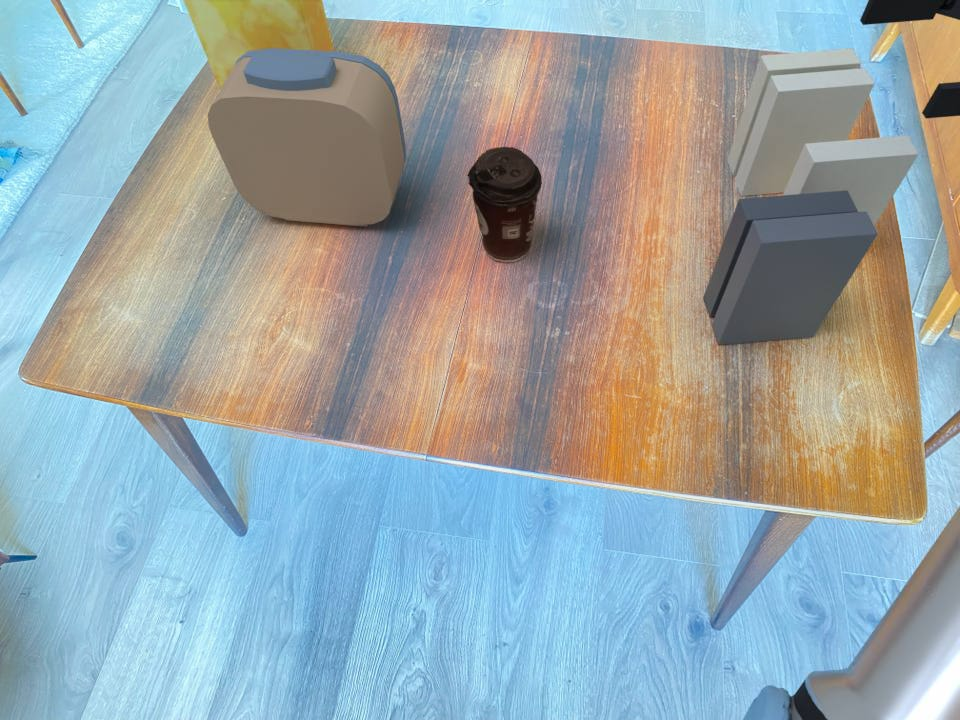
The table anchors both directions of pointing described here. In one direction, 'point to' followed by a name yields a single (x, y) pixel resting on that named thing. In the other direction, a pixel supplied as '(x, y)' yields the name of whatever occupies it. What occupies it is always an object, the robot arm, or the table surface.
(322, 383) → the table surface
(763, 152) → the white books
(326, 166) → the alarm clock
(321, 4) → the yellow marbled panel
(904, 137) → the white book
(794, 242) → the grey books
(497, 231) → the coffee cup
